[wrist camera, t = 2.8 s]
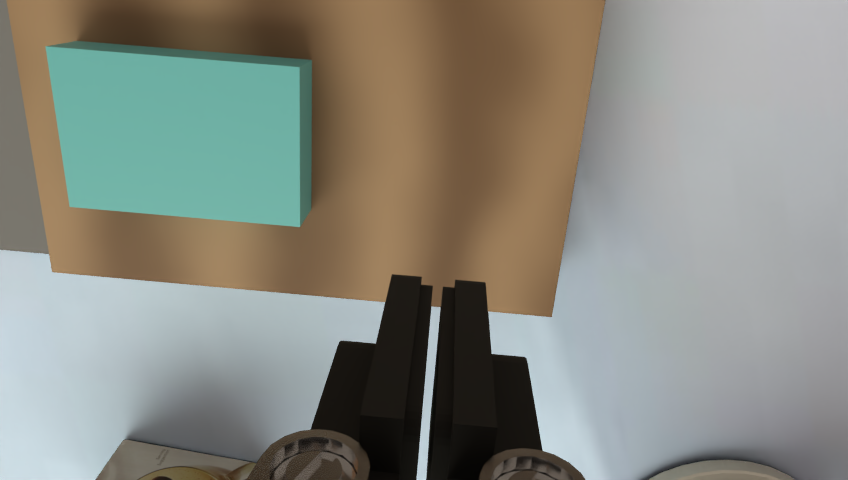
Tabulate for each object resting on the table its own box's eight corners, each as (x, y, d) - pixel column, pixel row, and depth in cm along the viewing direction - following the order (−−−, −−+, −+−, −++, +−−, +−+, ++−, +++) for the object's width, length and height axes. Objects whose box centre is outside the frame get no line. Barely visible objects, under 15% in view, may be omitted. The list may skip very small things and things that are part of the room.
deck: (590, -33, 26) (611, -34, 22) (541, 276, 32) (551, 316, 28) (58, -74, 27) (-8, -82, 23) (99, 237, 32) (52, 271, 28)
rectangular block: (311, 59, 24) (299, 67, 22) (311, 209, 27) (300, 226, 25) (76, 40, 24) (45, 46, 23) (96, 190, 27) (69, 206, 25)
